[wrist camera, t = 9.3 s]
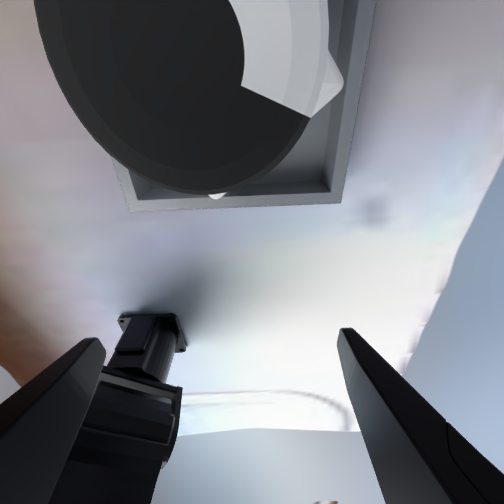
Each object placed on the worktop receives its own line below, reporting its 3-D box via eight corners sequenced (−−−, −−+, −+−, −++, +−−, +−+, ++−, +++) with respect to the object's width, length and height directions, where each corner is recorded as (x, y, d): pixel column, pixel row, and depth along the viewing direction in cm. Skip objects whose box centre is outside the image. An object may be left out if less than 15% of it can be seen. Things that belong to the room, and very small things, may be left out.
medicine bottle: (227, 166, 17) (195, 267, 7) (143, 73, 14) (-102, 31, 4) (310, 87, 15) (434, 79, 5) (229, -46, 12) (111, -815, 2)
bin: (329, 188, 19) (340, 203, 16) (145, 196, 19) (129, 211, 17) (373, -128, 11) (410, -195, 8) (54, -108, 11) (-2, -165, 9)
